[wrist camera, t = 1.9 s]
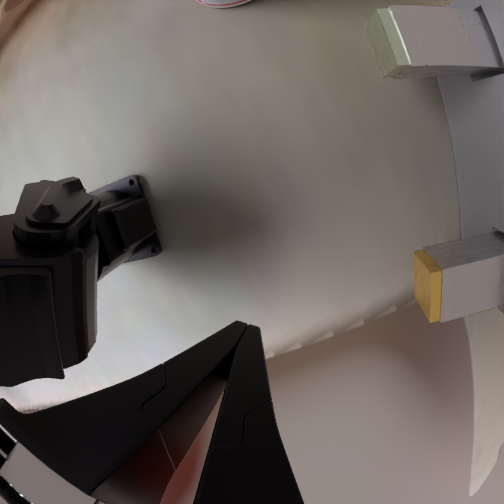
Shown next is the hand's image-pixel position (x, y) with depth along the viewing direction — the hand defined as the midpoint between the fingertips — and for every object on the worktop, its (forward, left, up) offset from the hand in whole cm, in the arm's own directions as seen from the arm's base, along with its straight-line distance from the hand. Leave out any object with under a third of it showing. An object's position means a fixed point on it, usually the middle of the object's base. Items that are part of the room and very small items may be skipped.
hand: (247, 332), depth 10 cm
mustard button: (+12, -2, -7) cm, 14 cm away
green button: (+12, +9, -7) cm, 16 cm away
